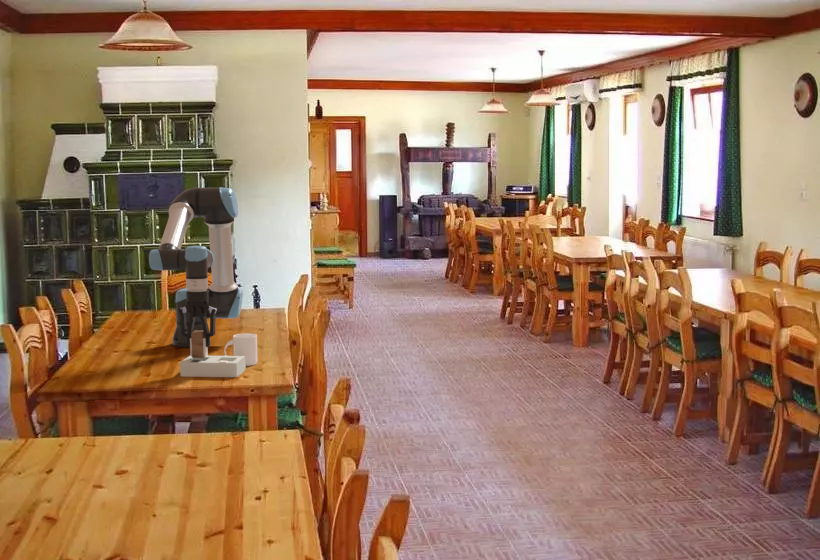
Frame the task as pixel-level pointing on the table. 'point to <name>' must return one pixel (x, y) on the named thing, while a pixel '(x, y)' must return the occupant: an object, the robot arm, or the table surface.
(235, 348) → the mug
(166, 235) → the robot arm
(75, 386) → the table surface
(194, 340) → the plug
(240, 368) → the socket board
